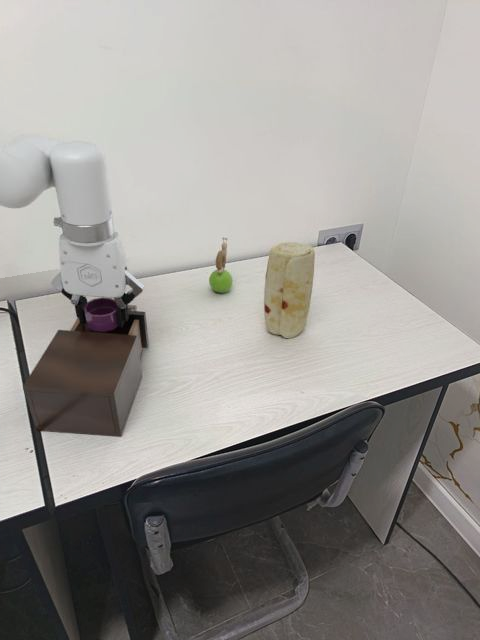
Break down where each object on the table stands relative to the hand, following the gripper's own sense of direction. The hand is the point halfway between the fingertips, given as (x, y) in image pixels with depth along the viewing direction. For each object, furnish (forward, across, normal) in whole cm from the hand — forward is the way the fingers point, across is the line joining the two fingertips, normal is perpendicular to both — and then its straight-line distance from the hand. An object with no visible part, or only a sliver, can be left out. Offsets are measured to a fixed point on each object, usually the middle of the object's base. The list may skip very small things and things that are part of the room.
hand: (103, 320), depth 88 cm
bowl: (+1, 0, 0) cm, 1 cm away
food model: (+9, +33, +14) cm, 37 cm away
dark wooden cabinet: (+9, 0, -11) cm, 15 cm away
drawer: (+8, 0, +1) cm, 9 cm away
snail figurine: (+9, +18, +29) cm, 35 cm away
